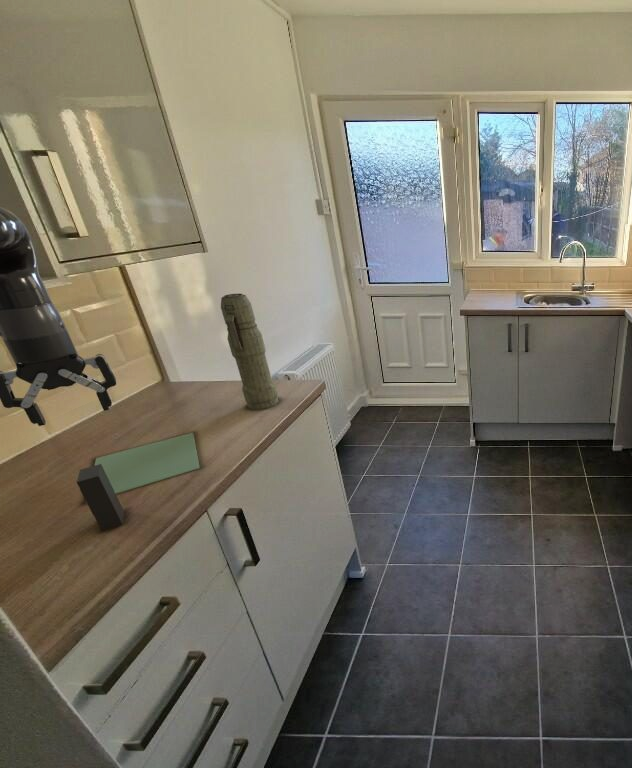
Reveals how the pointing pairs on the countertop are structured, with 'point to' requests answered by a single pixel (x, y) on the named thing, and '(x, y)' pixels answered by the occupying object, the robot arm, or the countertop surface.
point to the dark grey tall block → (100, 497)
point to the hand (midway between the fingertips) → (75, 416)
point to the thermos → (248, 352)
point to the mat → (150, 463)
